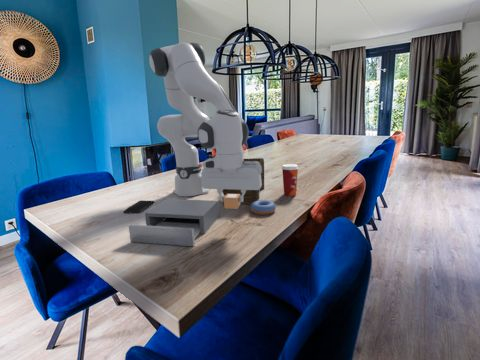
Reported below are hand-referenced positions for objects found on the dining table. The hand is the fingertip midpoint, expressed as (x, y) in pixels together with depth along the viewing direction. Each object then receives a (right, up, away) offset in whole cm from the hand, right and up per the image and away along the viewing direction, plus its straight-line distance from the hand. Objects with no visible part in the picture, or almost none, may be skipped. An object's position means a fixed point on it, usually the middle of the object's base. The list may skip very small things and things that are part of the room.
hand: (232, 201), depth 99 cm
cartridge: (0, -2, 0) cm, 2 cm away
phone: (-42, -6, +31) cm, 52 cm away
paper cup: (+26, 0, +40) cm, 48 cm away
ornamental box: (+6, 0, +45) cm, 45 cm away
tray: (-21, -11, +1) cm, 24 cm away
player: (-18, -9, +11) cm, 23 cm away
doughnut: (+12, -6, +19) cm, 23 cm away
